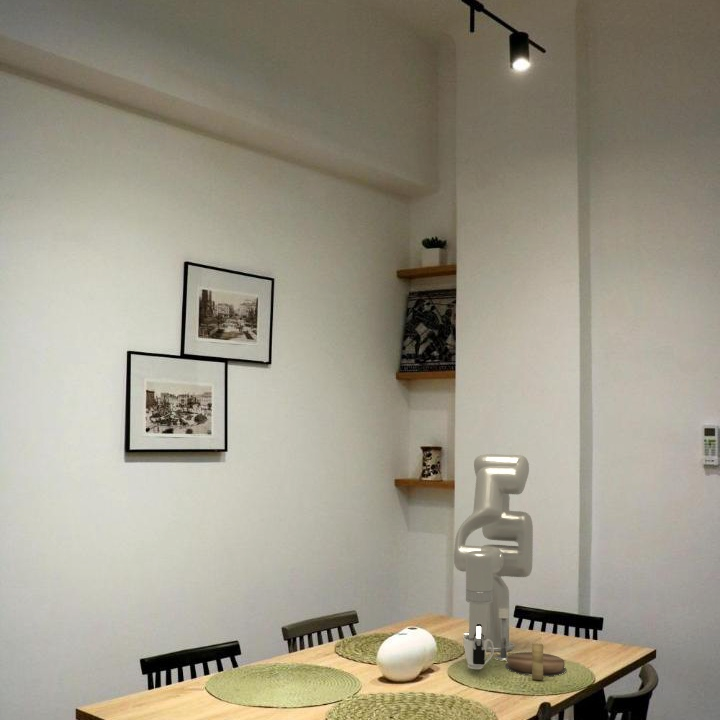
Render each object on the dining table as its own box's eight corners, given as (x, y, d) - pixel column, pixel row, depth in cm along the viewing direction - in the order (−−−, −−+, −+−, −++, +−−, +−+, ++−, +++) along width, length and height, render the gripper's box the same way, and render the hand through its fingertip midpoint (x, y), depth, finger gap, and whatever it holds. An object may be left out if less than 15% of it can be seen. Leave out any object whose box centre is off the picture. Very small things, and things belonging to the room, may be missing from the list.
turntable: (507, 657, 253) (507, 626, 254) (562, 661, 250) (562, 629, 251) (507, 677, 232) (507, 643, 232) (568, 681, 229) (568, 647, 230)
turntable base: (505, 674, 237) (505, 673, 237) (505, 658, 253) (505, 657, 253) (568, 678, 234) (568, 677, 234) (563, 662, 251) (563, 661, 251)
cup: (457, 665, 240) (457, 636, 241) (485, 659, 246) (484, 631, 246) (473, 672, 234) (473, 642, 235) (501, 666, 240) (501, 637, 240)
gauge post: (495, 660, 251) (495, 608, 252) (495, 656, 256) (495, 605, 257) (512, 661, 250) (512, 609, 251) (512, 657, 255) (512, 606, 256)
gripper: (466, 588, 250) (466, 650, 249) (464, 602, 233) (464, 668, 232) (492, 589, 248) (492, 651, 248) (492, 603, 231) (492, 670, 230)
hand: (479, 659), depth 240 cm, fingers closed on cup, 7 cm apart
